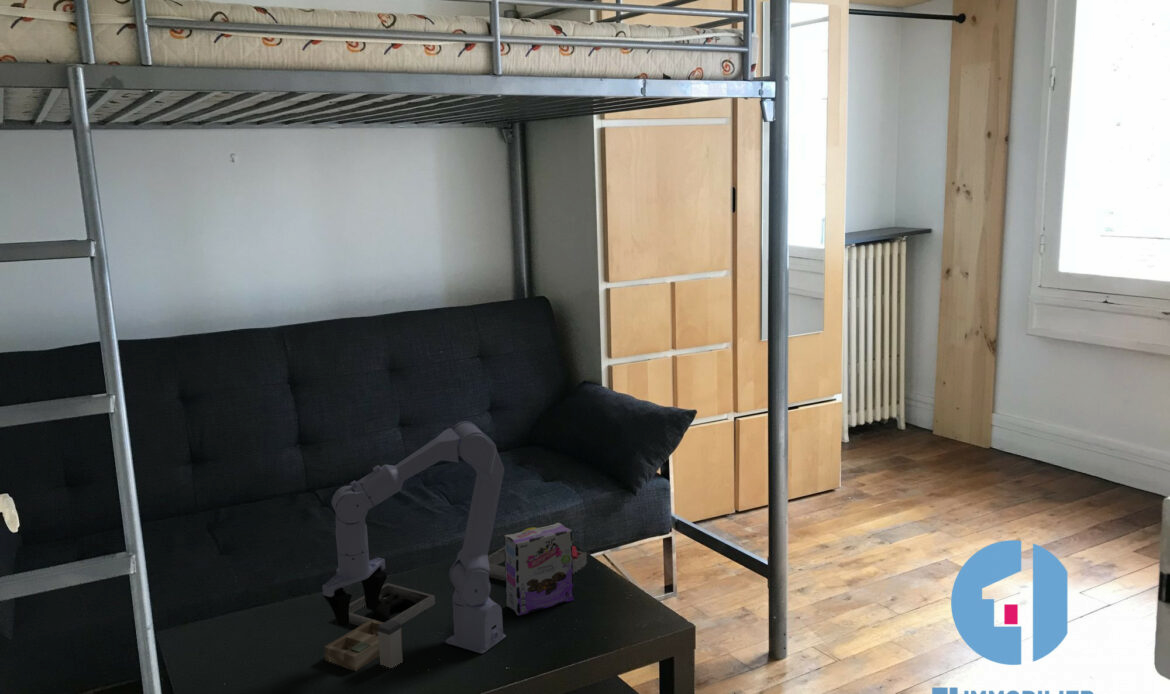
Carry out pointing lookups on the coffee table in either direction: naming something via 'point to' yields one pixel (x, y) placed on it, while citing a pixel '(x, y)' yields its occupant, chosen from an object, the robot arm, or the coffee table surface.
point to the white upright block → (390, 644)
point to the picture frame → (424, 603)
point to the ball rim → (500, 573)
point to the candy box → (538, 568)
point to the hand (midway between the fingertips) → (357, 617)
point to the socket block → (355, 647)
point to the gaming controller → (392, 605)
